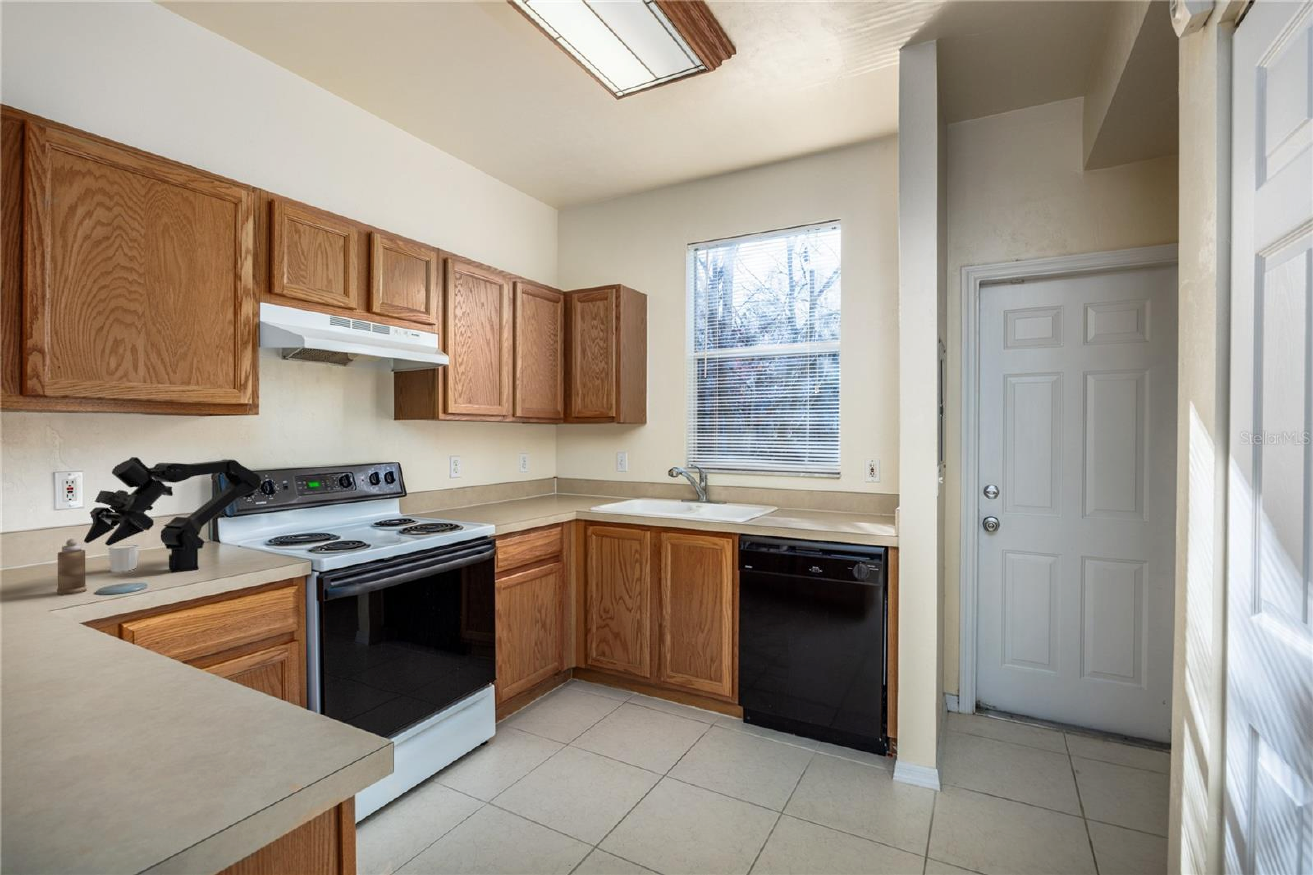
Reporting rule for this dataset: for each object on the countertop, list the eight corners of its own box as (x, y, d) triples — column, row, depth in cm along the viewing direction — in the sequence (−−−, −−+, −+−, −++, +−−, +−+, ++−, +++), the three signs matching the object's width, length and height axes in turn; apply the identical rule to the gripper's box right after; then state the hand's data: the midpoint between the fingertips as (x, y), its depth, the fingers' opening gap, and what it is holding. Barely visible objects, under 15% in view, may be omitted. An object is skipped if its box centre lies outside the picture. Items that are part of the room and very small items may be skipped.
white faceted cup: (103, 571, 183) (103, 547, 183) (132, 566, 189) (132, 543, 189) (114, 573, 180) (114, 549, 180) (143, 569, 186) (143, 545, 186)
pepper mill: (87, 588, 164) (86, 536, 164) (85, 592, 160) (85, 539, 159) (57, 591, 160) (57, 538, 160) (55, 596, 156) (55, 541, 156)
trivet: (146, 583, 170) (146, 580, 170) (147, 590, 162) (147, 588, 162) (97, 588, 163) (97, 586, 163) (96, 596, 156) (96, 594, 156)
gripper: (98, 478, 173) (48, 523, 163) (141, 480, 166) (91, 527, 156) (130, 503, 180) (84, 547, 170) (172, 506, 174) (127, 552, 163)
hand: (96, 543), depth 165 cm, fingers open, 9 cm apart
